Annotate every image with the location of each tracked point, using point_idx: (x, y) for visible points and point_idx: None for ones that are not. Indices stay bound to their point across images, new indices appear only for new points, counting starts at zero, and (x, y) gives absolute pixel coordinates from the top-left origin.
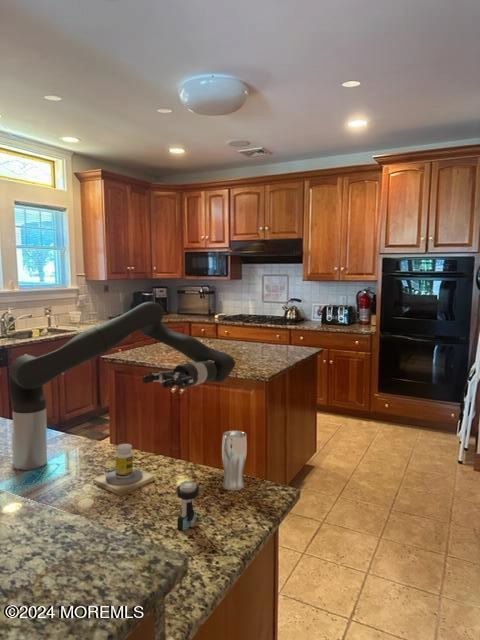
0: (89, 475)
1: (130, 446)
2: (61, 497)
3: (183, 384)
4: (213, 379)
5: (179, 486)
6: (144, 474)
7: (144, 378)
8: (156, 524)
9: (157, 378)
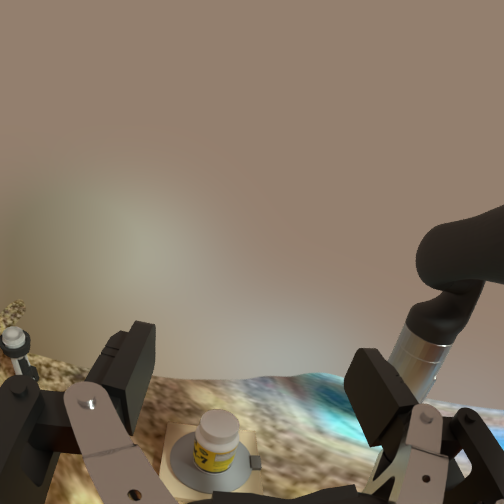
0: (288, 448)
1: (205, 427)
2: (245, 390)
3: (36, 479)
4: None
5: (26, 342)
6: (182, 489)
7: (354, 356)
8: (68, 381)
9: (445, 501)
